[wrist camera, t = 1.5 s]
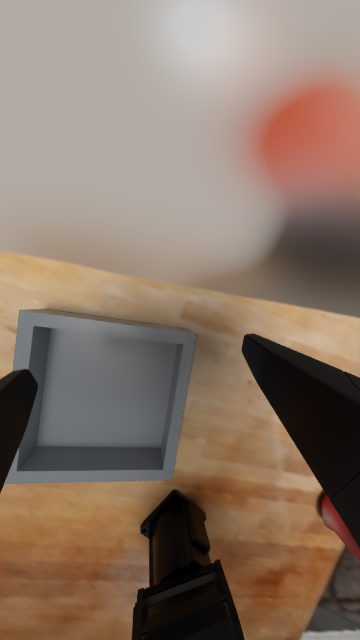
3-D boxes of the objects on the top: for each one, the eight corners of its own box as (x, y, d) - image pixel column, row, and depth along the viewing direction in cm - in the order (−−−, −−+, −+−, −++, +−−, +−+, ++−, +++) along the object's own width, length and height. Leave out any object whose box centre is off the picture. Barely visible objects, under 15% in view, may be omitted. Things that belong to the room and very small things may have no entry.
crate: (167, 450, 23) (172, 480, 19) (28, 449, 20) (-1, 483, 16) (188, 329, 22) (196, 334, 18) (45, 308, 19) (19, 310, 15)
